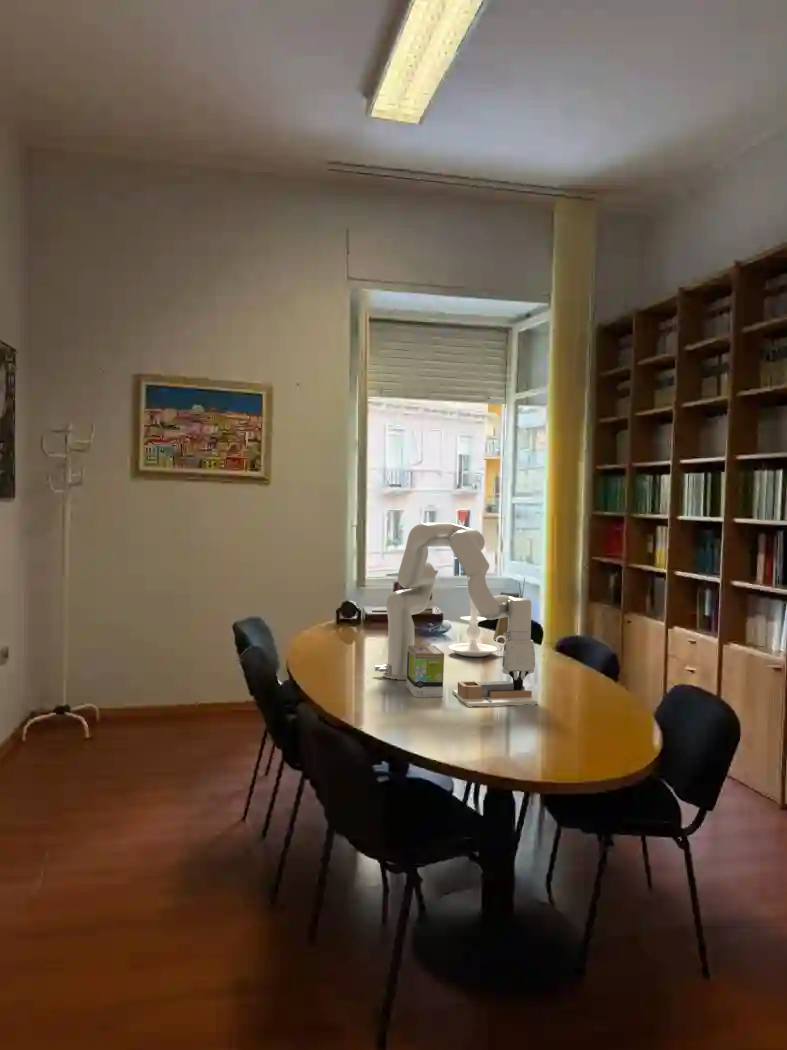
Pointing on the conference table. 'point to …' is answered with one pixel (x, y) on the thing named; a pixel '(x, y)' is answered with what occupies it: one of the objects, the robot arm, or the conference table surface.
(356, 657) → the conference table surface
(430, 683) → the tea box
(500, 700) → the lock board
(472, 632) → the candlestick
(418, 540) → the robot arm
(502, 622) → the windmill
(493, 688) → the bolt
